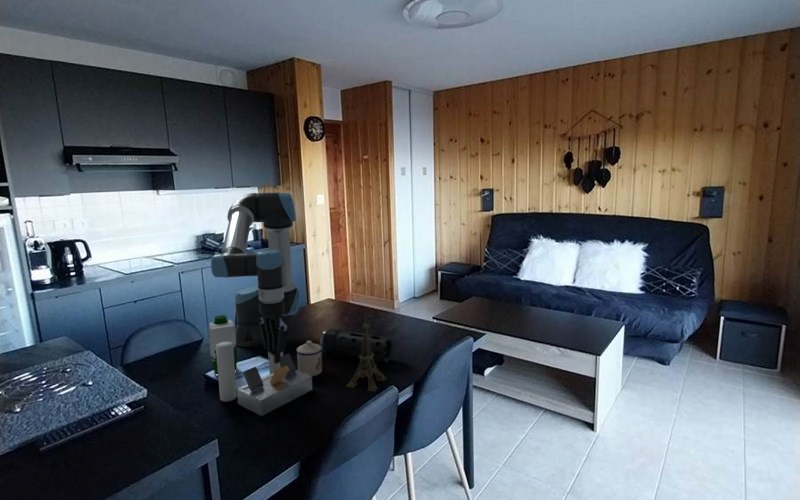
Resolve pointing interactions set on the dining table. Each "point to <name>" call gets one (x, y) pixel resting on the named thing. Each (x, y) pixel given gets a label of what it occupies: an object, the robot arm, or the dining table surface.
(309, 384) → the block
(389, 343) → the muzzle brake
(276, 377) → the block
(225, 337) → the milk carton
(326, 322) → the dining table surface
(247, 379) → the paddle left
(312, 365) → the teacup with lid
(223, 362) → the post near
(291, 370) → the paddle right
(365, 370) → the eiffel tower
